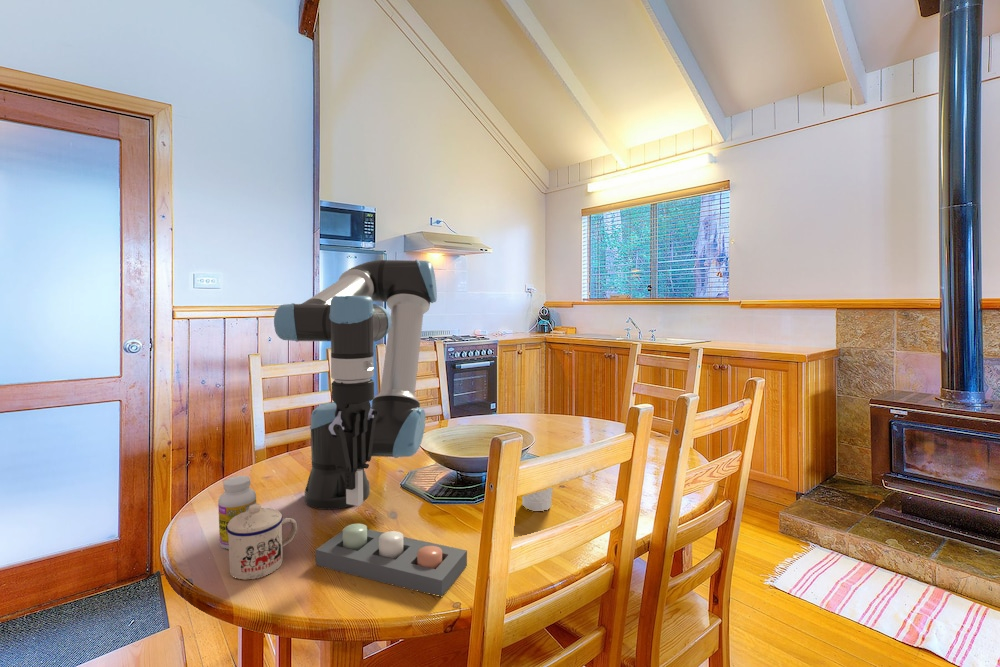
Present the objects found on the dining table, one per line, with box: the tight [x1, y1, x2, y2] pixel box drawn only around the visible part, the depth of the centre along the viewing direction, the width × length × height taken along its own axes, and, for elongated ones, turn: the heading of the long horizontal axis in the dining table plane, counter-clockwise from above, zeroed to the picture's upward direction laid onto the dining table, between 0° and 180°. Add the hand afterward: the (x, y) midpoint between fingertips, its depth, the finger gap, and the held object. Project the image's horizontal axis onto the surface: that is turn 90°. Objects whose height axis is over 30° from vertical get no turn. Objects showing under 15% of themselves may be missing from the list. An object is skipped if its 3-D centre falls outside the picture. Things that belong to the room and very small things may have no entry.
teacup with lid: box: [227, 503, 298, 580], centre depth 89 cm, size 12×9×12 cm
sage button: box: [342, 523, 368, 551], centre depth 92 cm, size 4×4×4 cm
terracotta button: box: [417, 546, 442, 569], centre depth 87 cm, size 4×4×4 cm
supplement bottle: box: [217, 475, 257, 550], centre depth 97 cm, size 7×7×13 cm
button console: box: [314, 528, 468, 597], centre depth 89 cm, size 26×10×3 cm, turn 70°
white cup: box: [521, 487, 554, 512], centre depth 115 cm, size 8×8×10 cm
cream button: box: [379, 530, 404, 560], centre depth 89 cm, size 4×4×4 cm
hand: (354, 503), depth 91 cm, fingers closed
